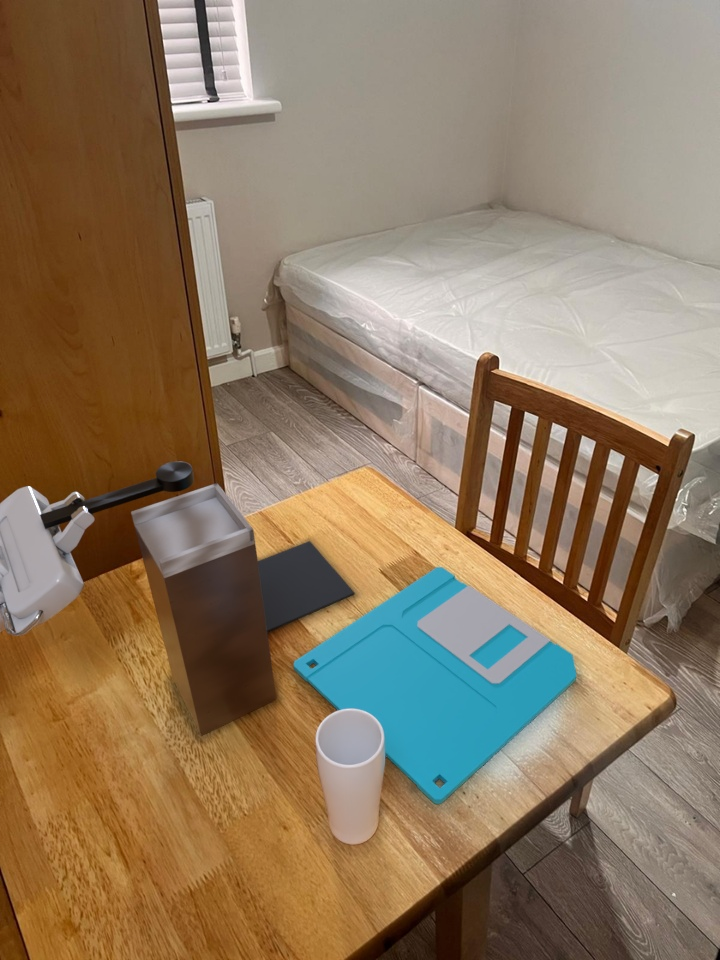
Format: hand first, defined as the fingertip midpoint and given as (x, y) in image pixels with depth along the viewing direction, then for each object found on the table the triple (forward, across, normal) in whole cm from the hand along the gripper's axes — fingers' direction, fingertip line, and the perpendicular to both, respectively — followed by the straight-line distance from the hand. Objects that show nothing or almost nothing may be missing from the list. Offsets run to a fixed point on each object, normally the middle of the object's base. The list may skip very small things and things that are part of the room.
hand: (85, 504), depth 85 cm
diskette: (+17, -25, +38) cm, 49 cm away
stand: (-5, -13, +26) cm, 29 cm away
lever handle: (+2, 0, +2) cm, 3 cm away
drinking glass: (-1, -37, +28) cm, 47 cm away
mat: (+4, 0, +31) cm, 31 cm away
